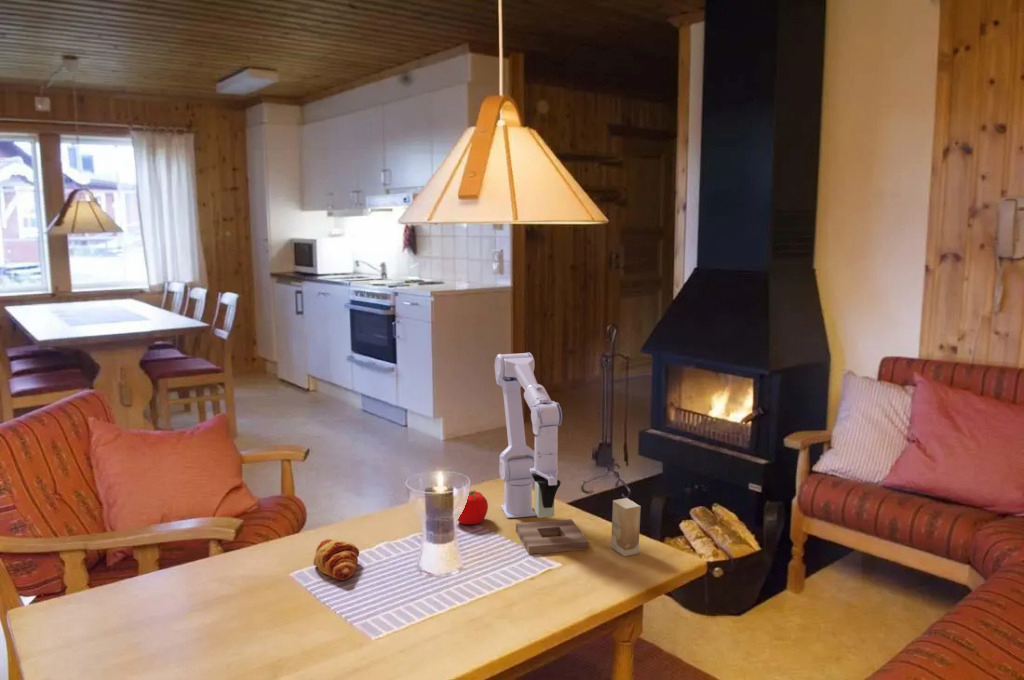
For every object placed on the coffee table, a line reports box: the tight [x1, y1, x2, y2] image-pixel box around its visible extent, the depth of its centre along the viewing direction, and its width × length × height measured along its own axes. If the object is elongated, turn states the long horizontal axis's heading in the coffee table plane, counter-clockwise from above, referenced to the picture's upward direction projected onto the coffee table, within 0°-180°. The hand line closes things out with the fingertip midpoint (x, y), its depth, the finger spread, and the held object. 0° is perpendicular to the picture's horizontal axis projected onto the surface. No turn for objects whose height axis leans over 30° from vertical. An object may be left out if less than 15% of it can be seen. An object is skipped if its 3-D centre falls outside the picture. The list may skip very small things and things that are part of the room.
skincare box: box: [610, 497, 642, 557], centre depth 190 cm, size 6×4×12 cm
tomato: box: [457, 490, 489, 526], centre depth 209 cm, size 9×10×8 cm
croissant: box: [313, 538, 360, 581], centre depth 182 cm, size 21×10×8 cm, turn 26°
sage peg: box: [534, 481, 555, 519], centre depth 196 cm, size 4×4×8 cm
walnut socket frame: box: [515, 518, 590, 555], centre depth 197 cm, size 15×15×2 cm
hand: (545, 504), depth 196 cm, fingers closed on sage peg, 4 cm apart
